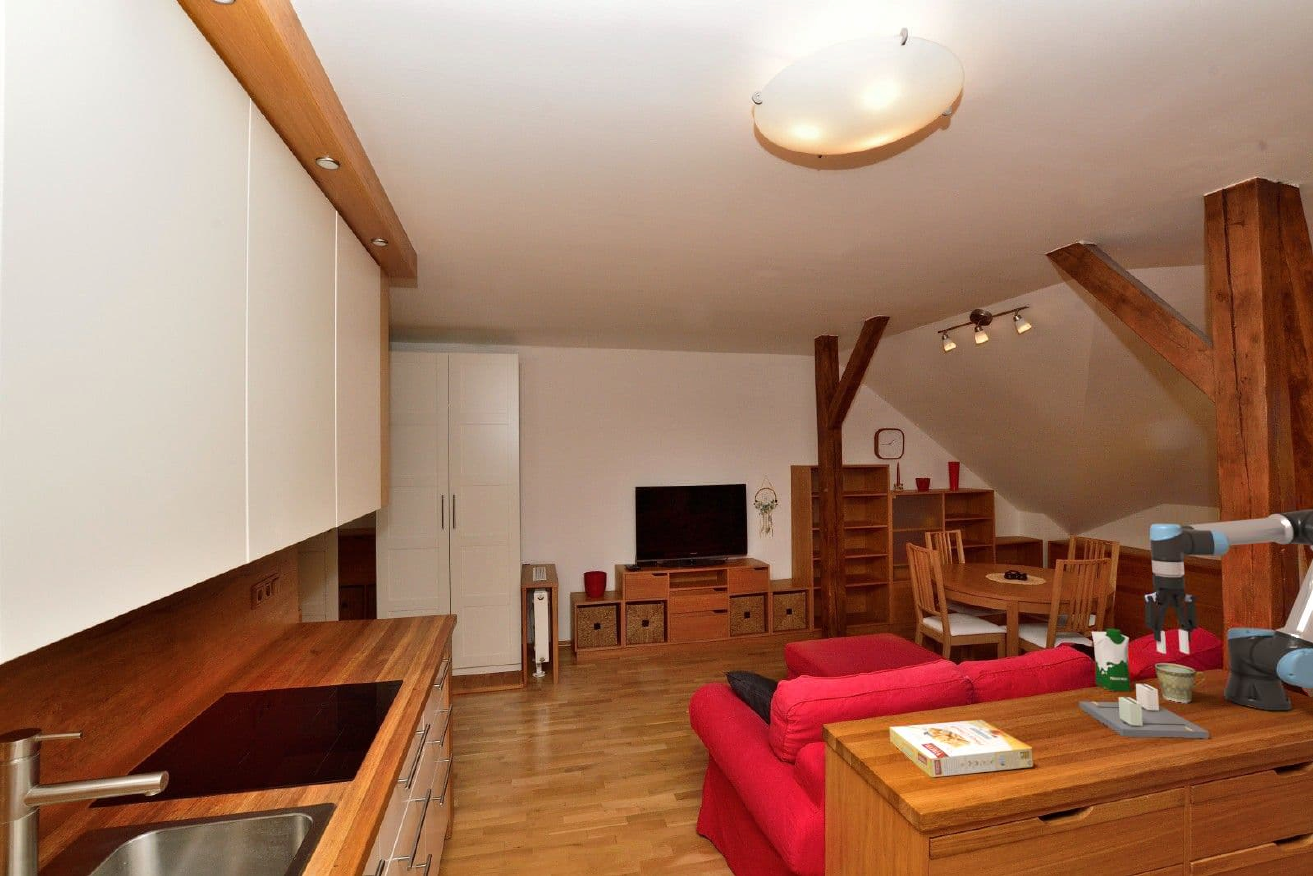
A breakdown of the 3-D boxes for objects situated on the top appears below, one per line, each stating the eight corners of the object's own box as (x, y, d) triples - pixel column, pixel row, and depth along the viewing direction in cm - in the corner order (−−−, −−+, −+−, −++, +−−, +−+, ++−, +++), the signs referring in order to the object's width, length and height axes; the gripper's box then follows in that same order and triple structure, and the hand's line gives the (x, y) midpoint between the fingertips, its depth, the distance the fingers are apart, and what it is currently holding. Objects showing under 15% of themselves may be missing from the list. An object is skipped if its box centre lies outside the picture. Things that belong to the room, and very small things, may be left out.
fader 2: (1147, 704, 188) (1146, 683, 188) (1158, 710, 183) (1157, 689, 183) (1136, 703, 188) (1135, 683, 189) (1148, 710, 183) (1146, 689, 184)
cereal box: (1034, 746, 154) (930, 756, 150) (1035, 770, 154) (932, 780, 149) (979, 717, 174) (887, 724, 170) (980, 737, 173) (888, 745, 169)
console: (1155, 710, 189) (1155, 703, 190) (1209, 739, 169) (1208, 731, 169) (1079, 708, 192) (1079, 701, 192) (1122, 736, 171) (1122, 729, 171)
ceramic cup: (1166, 703, 194) (1164, 671, 195) (1150, 692, 204) (1149, 662, 205) (1216, 707, 191) (1213, 674, 191) (1198, 696, 200) (1196, 665, 201)
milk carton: (1107, 692, 205) (1103, 631, 206) (1090, 683, 214) (1087, 625, 215) (1135, 693, 204) (1131, 631, 205) (1117, 683, 213) (1114, 625, 214)
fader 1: (1130, 718, 177) (1129, 696, 178) (1142, 725, 172) (1141, 703, 173) (1119, 718, 178) (1118, 696, 178) (1131, 725, 173) (1129, 703, 173)
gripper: (1192, 573, 190) (1197, 649, 188) (1127, 572, 192) (1131, 648, 191) (1211, 577, 182) (1216, 656, 181) (1143, 576, 184) (1148, 655, 183)
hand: (1173, 652), depth 186 cm, fingers open, 6 cm apart
